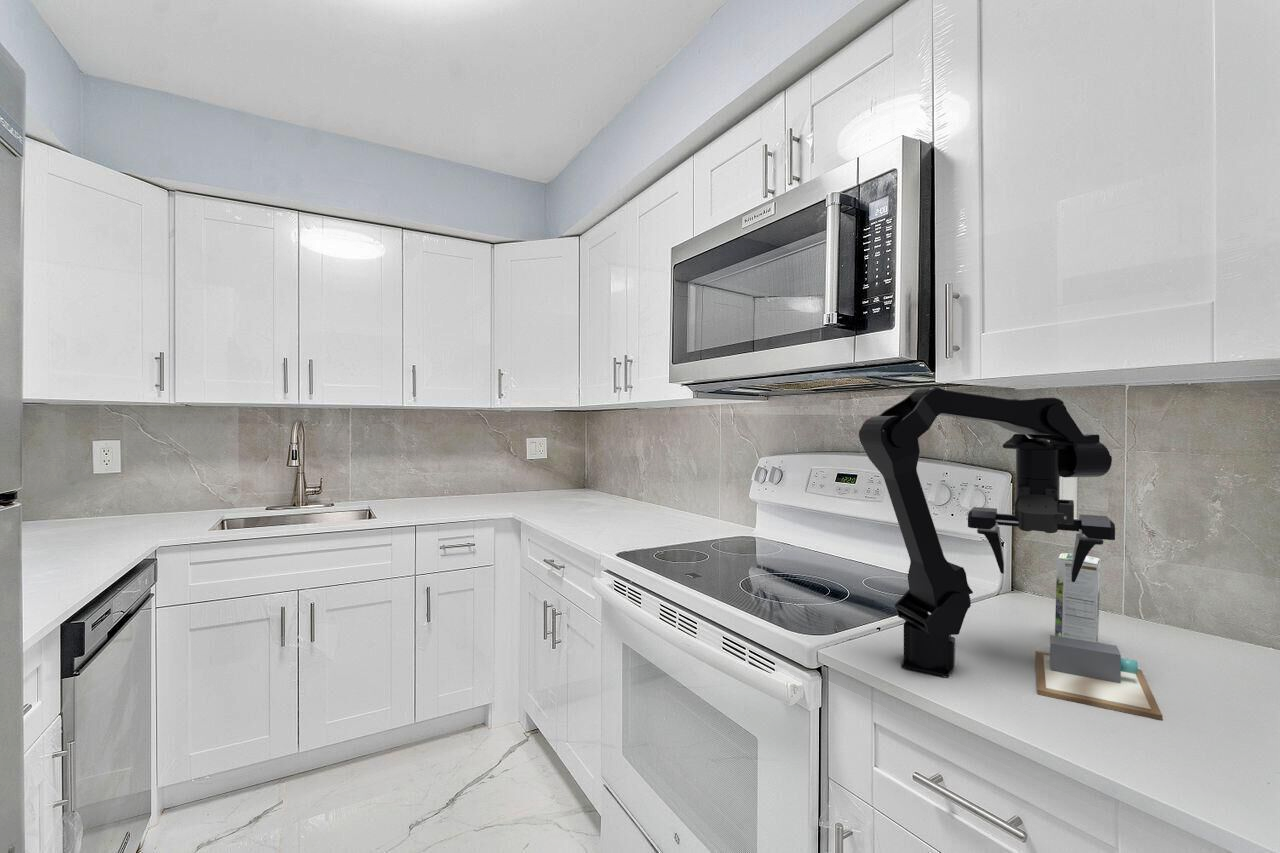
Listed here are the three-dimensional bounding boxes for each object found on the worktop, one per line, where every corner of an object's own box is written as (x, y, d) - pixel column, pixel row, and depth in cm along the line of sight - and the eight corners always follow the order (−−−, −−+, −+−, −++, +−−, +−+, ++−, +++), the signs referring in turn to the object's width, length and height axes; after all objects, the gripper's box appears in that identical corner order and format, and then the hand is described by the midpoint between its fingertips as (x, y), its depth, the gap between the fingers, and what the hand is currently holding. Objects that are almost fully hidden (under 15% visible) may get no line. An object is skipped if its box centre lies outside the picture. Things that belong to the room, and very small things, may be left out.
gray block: (1050, 670, 87) (1050, 643, 86) (1049, 661, 90) (1049, 635, 90) (1139, 687, 81) (1139, 658, 81) (1134, 676, 84) (1134, 648, 84)
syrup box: (1057, 633, 103) (1057, 551, 103) (1100, 641, 100) (1100, 556, 99) (1054, 643, 99) (1055, 557, 99) (1099, 652, 95) (1099, 563, 95)
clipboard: (1037, 694, 81) (1037, 682, 81) (1035, 654, 94) (1035, 644, 94) (1162, 720, 74) (1162, 707, 74) (1141, 673, 87) (1141, 663, 87)
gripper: (965, 479, 91) (964, 580, 91) (1120, 486, 80) (1119, 600, 80) (970, 473, 100) (970, 565, 100) (1110, 479, 90) (1110, 581, 90)
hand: (1036, 577), depth 92 cm, fingers open, 9 cm apart
